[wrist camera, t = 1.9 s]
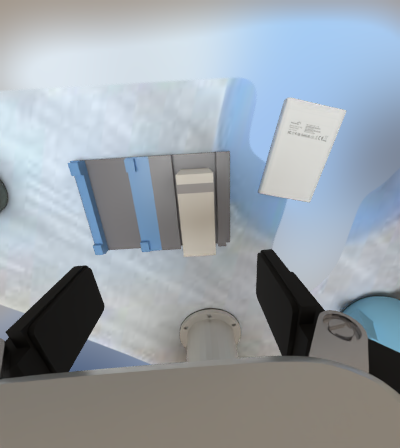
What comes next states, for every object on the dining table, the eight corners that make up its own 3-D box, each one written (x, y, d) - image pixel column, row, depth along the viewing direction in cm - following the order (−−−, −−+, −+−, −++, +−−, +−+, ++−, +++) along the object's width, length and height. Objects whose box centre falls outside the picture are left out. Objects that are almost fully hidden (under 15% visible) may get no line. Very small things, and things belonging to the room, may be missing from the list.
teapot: (329, 296, 36) (381, 351, 26) (408, 280, 35) (493, 330, 25) (328, 347, 42) (371, 409, 32) (397, 335, 41) (463, 394, 31)
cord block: (211, 232, 30) (215, 255, 23) (186, 233, 30) (183, 257, 23) (208, 167, 26) (213, 173, 19) (180, 169, 26) (175, 175, 19)
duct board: (228, 240, 31) (231, 247, 29) (99, 248, 31) (90, 256, 29) (228, 151, 26) (232, 151, 24) (73, 161, 26) (61, 161, 24)
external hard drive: (256, 191, 29) (283, 99, 24) (304, 200, 30) (339, 112, 25) (259, 193, 27) (289, 96, 23) (310, 202, 28) (349, 110, 24)
